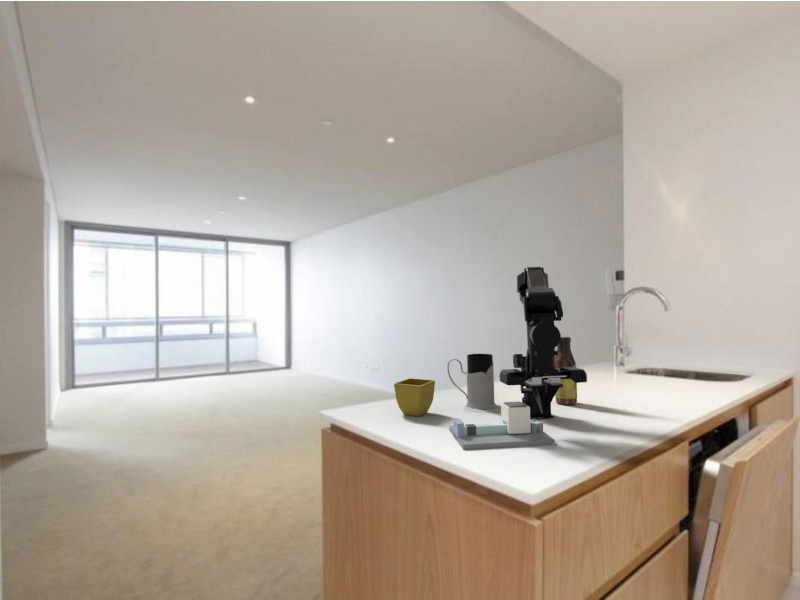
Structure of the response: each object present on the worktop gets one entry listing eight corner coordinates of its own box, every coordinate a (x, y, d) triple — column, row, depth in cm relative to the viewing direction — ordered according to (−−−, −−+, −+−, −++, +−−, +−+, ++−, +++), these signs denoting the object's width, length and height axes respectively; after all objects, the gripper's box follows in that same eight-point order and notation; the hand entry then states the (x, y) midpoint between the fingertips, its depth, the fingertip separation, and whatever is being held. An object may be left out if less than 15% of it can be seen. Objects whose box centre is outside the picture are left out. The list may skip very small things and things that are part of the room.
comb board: (529, 425, 106) (528, 409, 106) (554, 444, 92) (554, 425, 92) (449, 430, 104) (448, 413, 104) (463, 449, 90) (462, 430, 90)
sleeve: (522, 426, 101) (521, 400, 101) (530, 432, 96) (529, 405, 96) (501, 427, 101) (500, 401, 101) (508, 433, 96) (508, 406, 96)
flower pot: (421, 419, 114) (420, 385, 114) (393, 415, 119) (393, 383, 119) (436, 412, 122) (435, 380, 122) (410, 408, 126) (409, 378, 126)
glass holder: (495, 409, 123) (493, 357, 123) (445, 407, 127) (444, 356, 127) (496, 402, 131) (495, 353, 131) (450, 400, 135) (449, 353, 135)
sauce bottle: (580, 405, 125) (579, 337, 126) (559, 405, 125) (557, 337, 126) (572, 400, 132) (570, 335, 132) (551, 400, 132) (550, 336, 132)
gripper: (563, 341, 108) (565, 403, 108) (491, 343, 106) (493, 407, 106) (587, 345, 97) (589, 414, 97) (507, 348, 95) (508, 418, 95)
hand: (543, 413), depth 99 cm, fingers closed
